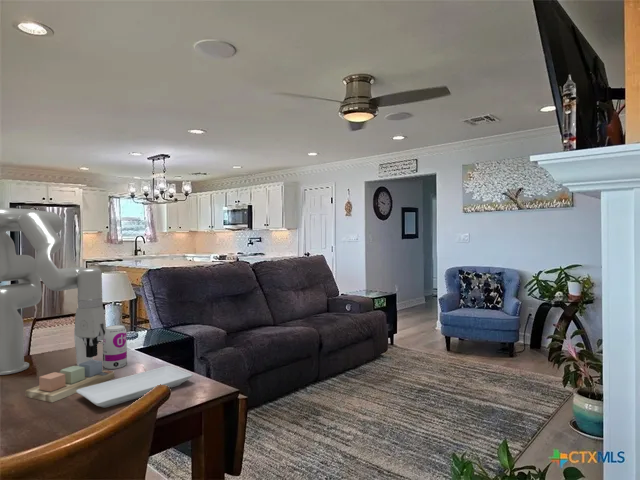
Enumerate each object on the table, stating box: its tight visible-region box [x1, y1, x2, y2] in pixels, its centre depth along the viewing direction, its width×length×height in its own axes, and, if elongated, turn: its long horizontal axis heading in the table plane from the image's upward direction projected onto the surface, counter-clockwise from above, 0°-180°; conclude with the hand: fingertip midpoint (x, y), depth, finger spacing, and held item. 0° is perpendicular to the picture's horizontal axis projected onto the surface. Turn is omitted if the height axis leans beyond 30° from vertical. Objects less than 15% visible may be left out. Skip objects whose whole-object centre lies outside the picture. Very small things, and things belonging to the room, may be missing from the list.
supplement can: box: [102, 324, 128, 370], centre depth 161 cm, size 8×8×15 cm
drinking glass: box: [73, 327, 94, 366], centre depth 161 cm, size 7×7×15 cm
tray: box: [76, 365, 194, 409], centre depth 137 cm, size 17×32×4 cm, turn 139°
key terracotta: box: [38, 371, 65, 393], centre depth 134 cm, size 5×5×4 cm
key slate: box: [79, 359, 103, 378], centre depth 147 cm, size 5×5×4 cm
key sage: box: [59, 365, 85, 385], centre depth 140 cm, size 5×5×4 cm
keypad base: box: [24, 369, 116, 403], centre depth 140 cm, size 12×23×2 cm, turn 159°
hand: (91, 356), depth 146 cm, fingers closed
